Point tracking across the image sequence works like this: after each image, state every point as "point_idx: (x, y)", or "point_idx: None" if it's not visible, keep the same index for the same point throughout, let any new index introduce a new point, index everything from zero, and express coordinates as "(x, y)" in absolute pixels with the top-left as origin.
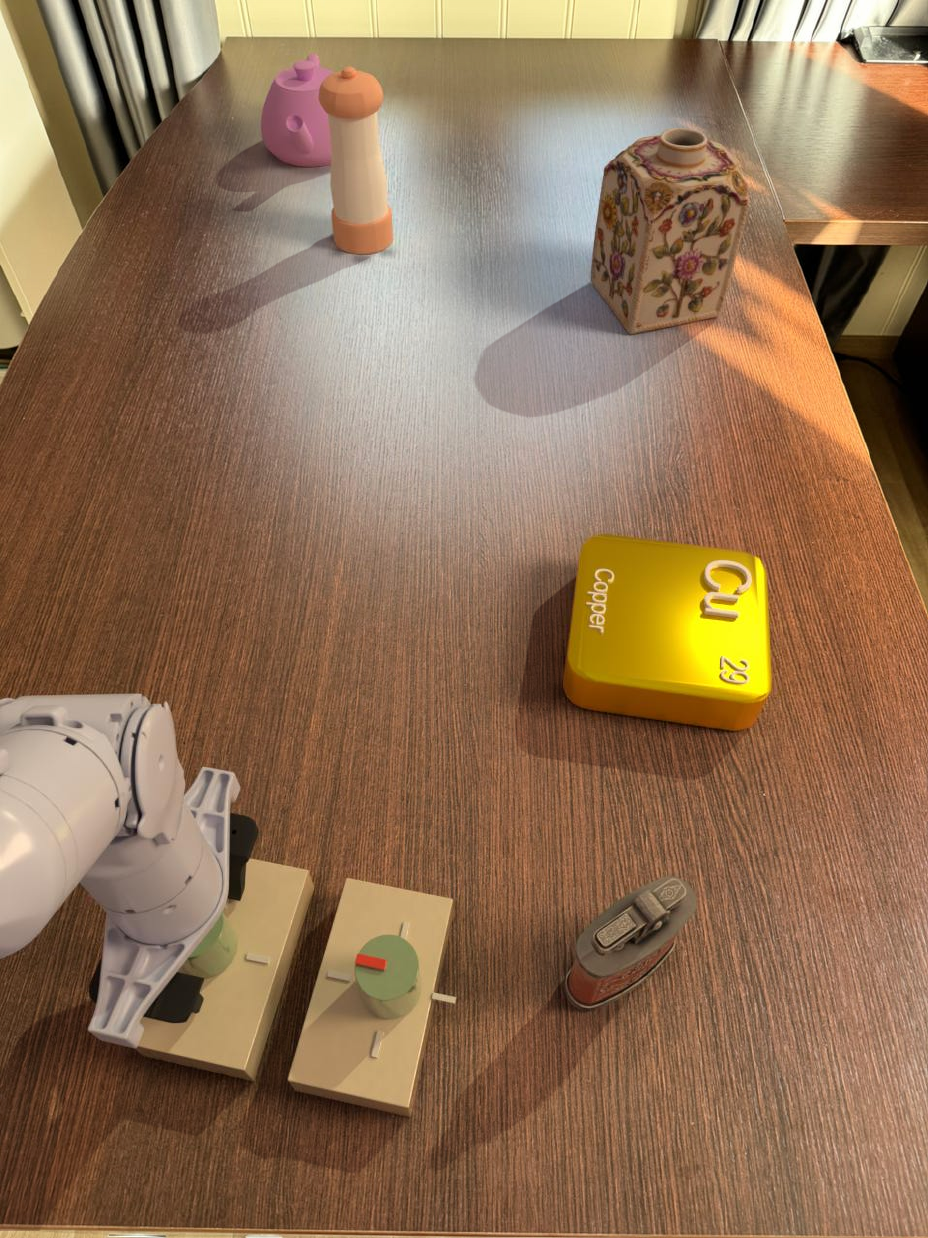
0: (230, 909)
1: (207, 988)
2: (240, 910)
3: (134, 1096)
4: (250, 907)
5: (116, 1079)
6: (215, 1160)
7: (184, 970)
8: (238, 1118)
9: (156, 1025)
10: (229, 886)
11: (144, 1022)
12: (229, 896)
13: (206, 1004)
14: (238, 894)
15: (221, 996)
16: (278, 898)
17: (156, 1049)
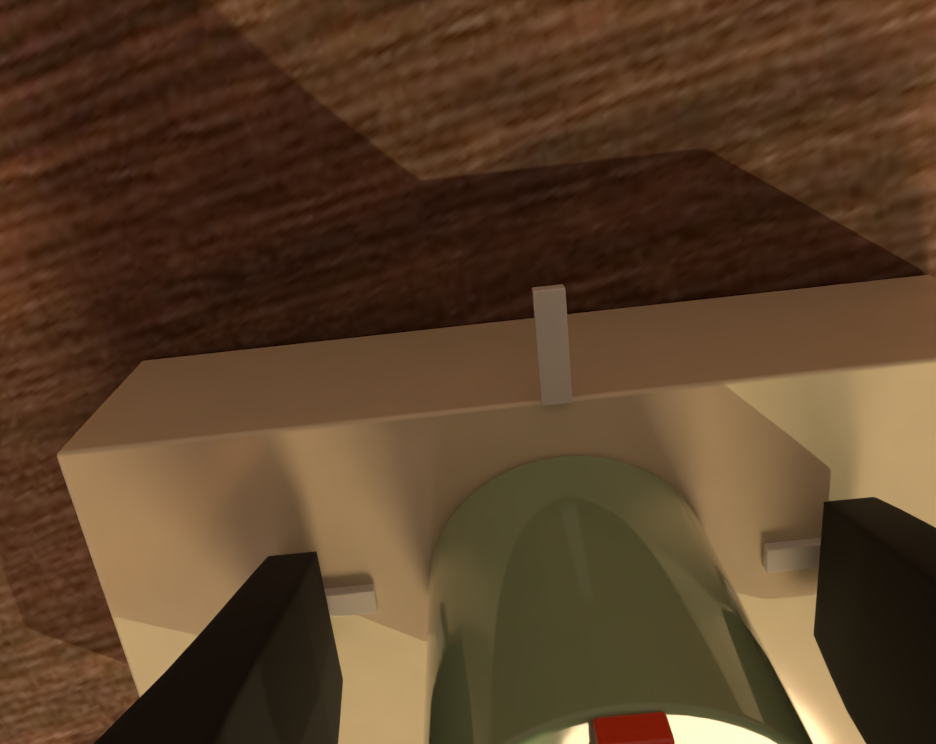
0: (765, 582)
1: (407, 639)
2: (769, 625)
3: (14, 396)
4: (789, 649)
5: (25, 305)
6: (3, 695)
7: (432, 580)
8: (130, 705)
9: (181, 527)
10: (905, 741)
11: (168, 474)
12: (833, 620)
13: (346, 665)
14: (855, 708)
15: (398, 699)
16: (848, 731)
17: (97, 572)
